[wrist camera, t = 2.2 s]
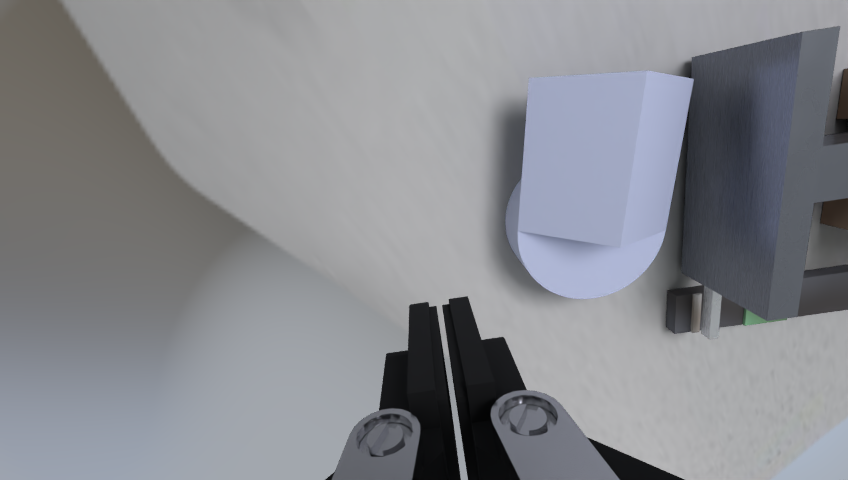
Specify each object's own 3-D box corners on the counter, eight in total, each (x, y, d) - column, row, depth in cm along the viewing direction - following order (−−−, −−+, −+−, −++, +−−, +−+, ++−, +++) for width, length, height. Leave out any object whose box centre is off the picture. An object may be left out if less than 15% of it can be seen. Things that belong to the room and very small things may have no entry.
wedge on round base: (513, 83, 24) (501, 279, 28) (549, 69, 18) (527, 325, 22) (657, 84, 25) (626, 278, 28) (743, 71, 18) (688, 324, 22)
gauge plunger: (692, 57, 24) (802, 31, 17) (866, 30, 23) (1049, -6, 17) (678, 323, 29) (759, 384, 22) (821, 302, 29) (946, 358, 22)
